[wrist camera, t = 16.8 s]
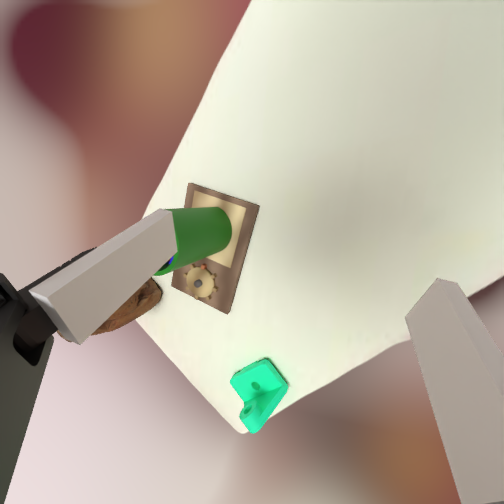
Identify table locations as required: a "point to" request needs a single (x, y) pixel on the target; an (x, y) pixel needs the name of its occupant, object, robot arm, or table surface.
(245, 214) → the mounting board
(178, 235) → the motor
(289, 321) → the table surface
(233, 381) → the camera mount
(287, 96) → the table surface
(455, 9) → the table surface
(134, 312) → the block
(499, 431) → the robot arm
